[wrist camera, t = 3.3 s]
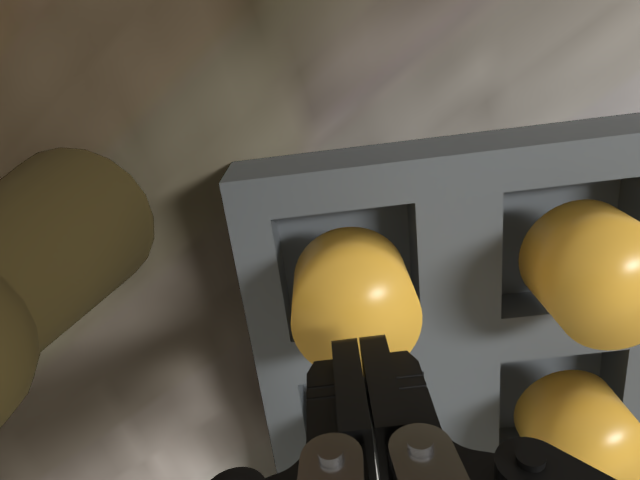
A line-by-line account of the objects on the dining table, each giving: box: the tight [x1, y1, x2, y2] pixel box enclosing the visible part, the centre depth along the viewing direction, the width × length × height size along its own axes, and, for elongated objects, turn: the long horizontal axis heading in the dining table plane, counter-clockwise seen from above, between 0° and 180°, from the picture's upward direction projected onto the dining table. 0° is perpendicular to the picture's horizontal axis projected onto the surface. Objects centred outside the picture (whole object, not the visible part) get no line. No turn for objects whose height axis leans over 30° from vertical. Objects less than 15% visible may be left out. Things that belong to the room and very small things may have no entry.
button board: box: [219, 113, 640, 473], centre depth 22 cm, size 20×16×4 cm
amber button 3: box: [514, 370, 640, 480], centre depth 19 cm, size 4×4×3 cm
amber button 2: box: [518, 199, 640, 351], centre depth 17 cm, size 4×4×3 cm
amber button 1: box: [291, 227, 422, 372], centre depth 17 cm, size 4×4×3 cm
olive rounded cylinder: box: [0, 148, 154, 428], centre depth 16 cm, size 6×6×11 cm
